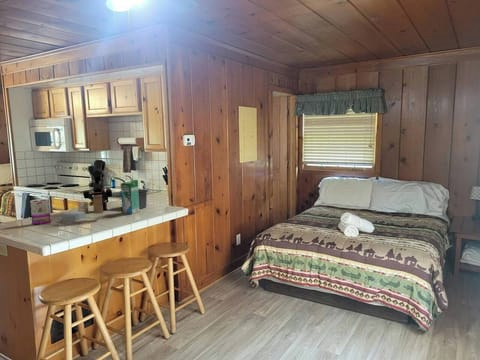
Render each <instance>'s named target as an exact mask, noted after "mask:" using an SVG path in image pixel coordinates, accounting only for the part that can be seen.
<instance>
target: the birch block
mask: <svg viewBox="0 0 480 360" xmlns="http://www.w3.org/2000/svg"><path fill="white" fill-rule="evenodd" d="M77 209H78V210H77V212H85V214H87V213H89V202H87V201H80V202H77Z"/></svg>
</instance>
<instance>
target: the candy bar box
mask: <svg viewBox="0 0 480 360" xmlns="http://www.w3.org/2000/svg"><path fill="white" fill-rule="evenodd" d="M29 206H30V216H31V224H32V226H37V225H38V226H39V225H44V224H51V223H52V219H51V210H50V208H51V207H50V200H49V198H41V199H32V200H30V201H29Z"/></svg>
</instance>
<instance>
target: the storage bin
mask: <svg viewBox="0 0 480 360" xmlns="http://www.w3.org/2000/svg"><path fill="white" fill-rule="evenodd" d="M138 191H139V210H140V209H144V208H147V201H148V200H147V199H148V198H147V195H148V194H147V193H149V190H148V189H142V188H141V189H139V188H138ZM119 192H120V193H121V190H119Z"/></svg>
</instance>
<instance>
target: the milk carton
mask: <svg viewBox="0 0 480 360" xmlns="http://www.w3.org/2000/svg"><path fill="white" fill-rule="evenodd" d="M138 189H139V180H138V179H127V180H124V181H123V182H121V183H120V191H121V192H120V196H121V207H122V208H121V211H122V214H126V215H135V214H137V213H140V209H139V191H138Z"/></svg>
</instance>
